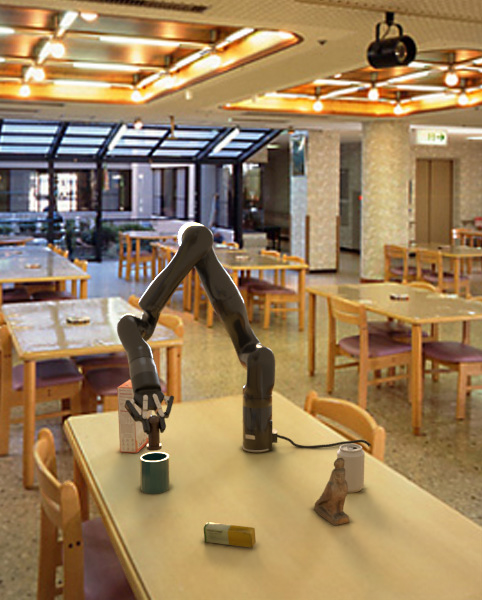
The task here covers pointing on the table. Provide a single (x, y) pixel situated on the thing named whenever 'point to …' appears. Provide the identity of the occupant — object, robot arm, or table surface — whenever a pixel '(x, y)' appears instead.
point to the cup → (154, 472)
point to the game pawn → (154, 434)
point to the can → (353, 466)
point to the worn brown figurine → (334, 496)
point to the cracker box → (130, 422)
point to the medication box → (229, 534)
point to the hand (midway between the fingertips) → (155, 432)
